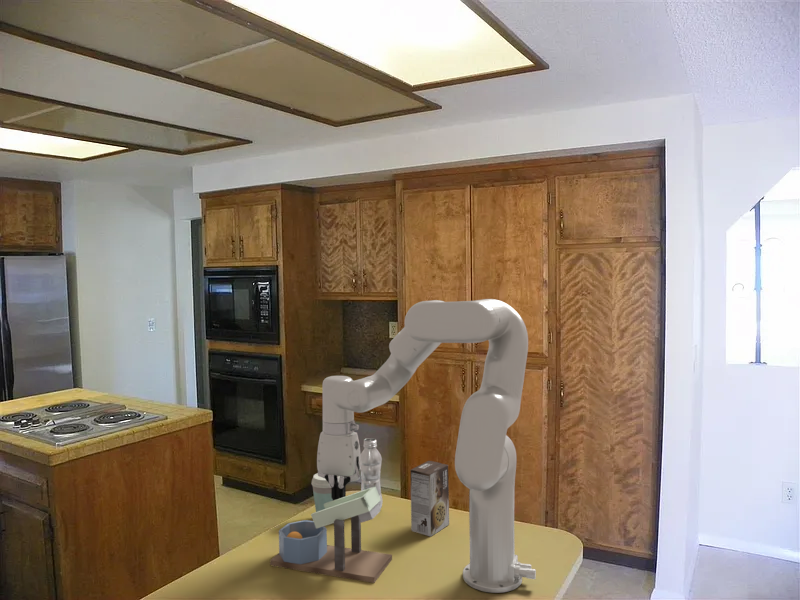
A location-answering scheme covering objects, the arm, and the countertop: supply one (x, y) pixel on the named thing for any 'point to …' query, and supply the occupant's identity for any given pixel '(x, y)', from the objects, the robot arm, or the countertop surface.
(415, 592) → the countertop surface
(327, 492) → the coffee cup
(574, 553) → the countertop surface
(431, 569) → the countertop surface
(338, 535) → the stand
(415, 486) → the coffee box
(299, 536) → the orange ball
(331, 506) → the tipping tray
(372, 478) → the plastic bottle
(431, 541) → the countertop surface
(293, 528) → the blue cup
